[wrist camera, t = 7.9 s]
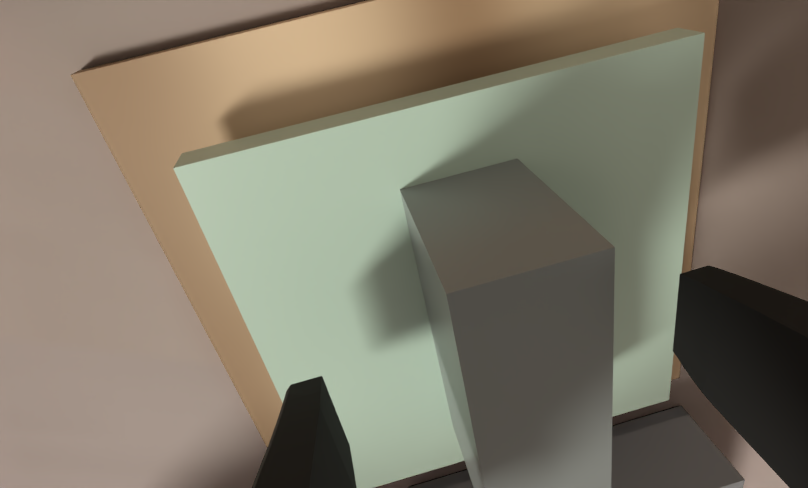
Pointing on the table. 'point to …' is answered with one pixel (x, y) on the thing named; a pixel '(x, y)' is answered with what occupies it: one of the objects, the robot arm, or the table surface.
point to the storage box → (652, 456)
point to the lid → (471, 260)
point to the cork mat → (334, 108)
